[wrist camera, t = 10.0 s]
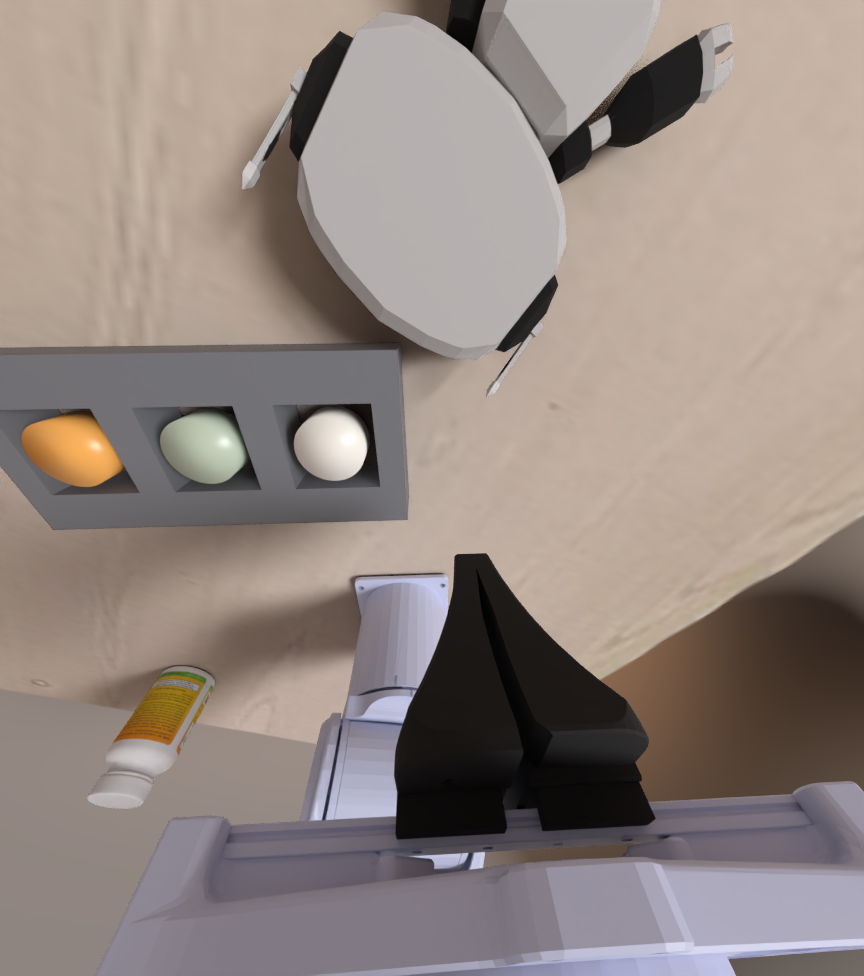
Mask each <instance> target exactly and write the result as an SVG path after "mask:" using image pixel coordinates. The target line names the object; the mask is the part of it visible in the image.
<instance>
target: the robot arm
mask: <svg viewBox="0 0 864 976" xmlns="http://www.w3.org/2000/svg"><path fill="white" fill-rule="evenodd" d="M442 583H443V584H442ZM360 586H362V587H360ZM355 589H356V594H357V599H358V604H359V609H360V614H361V619H362V620H361V625H360V631H359V636H358V642H357V647H356V653H355V658H354V664H353V669H352V675H351V680H350V686H349V691H348V697H347V701H346V705H345V708H344V712H343V716H342V719H341V713H332V714H331V716H330V718H328V719H327V720H326V721H325V722H324V723H323V724H322V725H321V729H320V733H319V737H318V742H317V746H316V750H315V754H314V759H313V763H312V767H311V772H310V776H309V780H308V785H307V789H306V794H305V798H304V802H303V807H302V812H301V816H300V820H299V821H296V822H278V823H260V824H241V825H231V823H230V822H229V820H228V819H226V818H224V817H220V816H196V817H176V818H172V819H171V820H170V821H168V824H167V826H166V828H165V830H164V832H163V834H162V836H161V838H160V840H159V842H158V844H157V846H156V848H155V850H154V853H153V855H152V857H151V859H150V861H149V863H148V865H147V867H146V869H145V871H144V873H143V875H142V877H141V879H140V881H139V883H138V886H137V888H136V890H135V892H134V894H133V896H132V898H131V900H130V902H129V904H128V906H127V908H126V911H125V913H124V915H123V917H122V919H121V921H120V923H119V925H118V927H117V929H116V931H115V933H114V935H113V937H112V939H111V941H110V944H109V946H108V948H107V950H106V952H105V954H104V956H103V958H102V960H101V962H100V964H99V967H98V968H97V971H96V973H95V975H94V976H736V975H735V973H734V971H733V969H732V967H731V965H730V962H729V960H728V959H732V958H746V957H758V956H772V955H785V954H798V953H811V952H825V951H839V950H852V949H864V792H863V791H862V790H861V789H860V787H859V786H858V785H857V784H856V783H854V782H851V781H847V782H827V783H814V784H809V785H805V786H803V787H801V788H799V789H797V790H796V791H794V792H793V794H791V795H774V796H773V795H772V796H754V797H735V798H717V799H700V800H682V801H663V802H648V800H647V798H646V796H645V794H644V792H643V789H642V788H641V785H640V783H639V781H641V780H642V778H641V774H640V772H639V770H638V768H637V766H636V764H635V762H636V761H637V759H638V758H639V757H640V756H641V755H642V754H643V753H644V751H645V750H646V748H647V747H648V744H649V739H648V736H647V734H646V732H645V730H644V728H643V727H642V725H641V723H640V721H639V719H638V718H637V717H636V715H635V713H634V711H633V710H632V708H631V707H630V705H629V704H628V702H627V701H626V700H625V699H624V698H623V697H621V696H620V695H619V694H617V693H616V692H615V691H613V690H612V689H611V688H609V687H608V686H607V685H605V684H604V683H602V682H601V681H600V680H599V679H597V678H596V677H595V676H594V675H593V674H591V673H590V672H589V671H588V670H586V669H585V668H584V667H583V666H582V665H580V664H579V663H578V662H577V661H576V660H575V659H574V658H573V657H572V656H570V655H569V654H568V653H567V652H566V651H565V650H564V649H563V648H562V647H561V646H559V645H558V644H557V643H556V642H555V641H554V640H553V639H552V638H551V637H550V636H549V635H548V634H547V633H546V632H545V631H544V630H543V628H542V627H541V626H540V625H539V624H538V623H537V622H536V621H535V620H534V619H533V618H532V616H531V615H530V614H529V613H528V612H527V610H526V609H525V608H524V607H523V606H522V604H521V603H520V602H519V601H518V599H517V598H516V597H515V595H514V594H513V593H512V591H511V590H510V589H509V587H508V586H507V584H506V583H505V582H504V580H503V579H502V577H501V576H500V574H499V573H498V571H497V570H496V568H495V566H494V565H493V563H492V561H491V560H490V558H489V556H488V555H487V554H486V553H482V554H457V555H456V556H455V559H454V583H453V592H452V597H451V601H450V605H449V609H448V577H447V575H444V574H437V575H407V576H377V577H358V578H356V579H355ZM447 612H448V613H447ZM503 802H504V804H503ZM632 843H641V844H636V845H631V846H628V849H627V852H626V853H625V854H623V855H622V856H621V857H620V858H599V859H598V858H597V859H570V860H552V861H540V862H529V863H519V864H511V865H502V866H493V867H486V868H483V863H484V856H485V852H494V851H511V850H528V849H544V848H545V849H546V848H563V847H580V846H597V845H614V844H632Z"/></svg>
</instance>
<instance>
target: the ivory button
mask: <svg viewBox="0 0 864 976" xmlns="http://www.w3.org/2000/svg"><path fill="white" fill-rule="evenodd" d="M369 444H370V435H369V431H368V428H367V426H366V424H365V423H364V421H363V420H362V419H361V418H360V417H359V416H358V415H357V414H356V413H354V412H353V411H351V410H349V409H347V408H344V407H340V406H327V407H323V408H320V409H319V410H317V411H315V412H314V413H313V414H312V415H311V416H310V417H309V418H308V419H307V420H306V421H305V422H304V423H303V424H302V426H301V427H300V428H299V429H298V431H297V432H296V435H295V438H294V450H295V454H296V456H297V458H298V460H299V462H300V463H301V465H302V466H303V467H304V468H305V469H306V470H307V471H308V472H310V473H311V474H313V475H314V476H317V477H319V478H321V479H325V480H330V481H340V480H345V479H348V478H350V477H352V476H353V475H355V474H356V473H357V472H358V471H359V470H360V468H361V467H362V465H363V462H364V460H365V457H366V454H367V451H368V448H369Z"/></svg>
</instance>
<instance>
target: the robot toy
mask: <svg viewBox="0 0 864 976" xmlns="http://www.w3.org/2000/svg"><path fill="white" fill-rule="evenodd" d="M660 5H661V0H451V6H450V12H449V18H448V24H447V30H446V32H447V34H446V33H445V32H443V31H442V30H441V29H439V28H438V27H437V26H435V25H433V24H431V23H429V22H427V21H425V20H423V19H421V18H419V17H417V16H411V15H404V14H397V13H390V12H381V13H380V14H379V15H377V16H376V17H375V18H373V19H372V20H371V21H369V22H368V23H367V24H365V25H364V26H363V27H361V28H360V29H358V30H357V32H356V34H355V36H354V38H352V37H350V36H348V35H346V34H344V33H342V32H340V31H339V32H338V33H337V34H336V36H335V37H334V38H333V39H332V40H331V41H330V42H329V44H328V45H327V46H326V47H325V48H324V49H323V50H322V51H321V52H320V53H319V54H318V55H317V56H316V57H315V58H314V59H313V60H312V63H311V65H310V67H309V70H308V72H307V73H306V72H305V71H304V70H303V69H302V68H301V67H299V69H298V71H297V72H296V74H295V76H294V77H293V79H292V81H291V83H290V85H291V90H292V93H291V94H290V96H289V98H288V100H287V101H286V103H285V105H284V107H283V108H282V110H281V112H280V113H279V115H278V117H277V119H276V120H275V122H274V124H273V126H272V127H271V129H270V131H269V132H268V134H267V136H266V138H265V139H264V141H263V143H262V145H261V146H260V148H259V150H258V152H257V153H256V155H255V157H254V158H253V160H252V162H251V161H250V160H249V162H248V164H247V166H246V167H245V169H244V171H243V172H242V190H244V189H248V188H252V187H254V185H255V184H256V182H257V180H258V178H259V177H260V173H259V172H260V170H261V169H262V167H263V165H264V164H265V162H266V160H267V158H268V157H269V155H270V153H271V151H272V150H273V148H274V146H275V145H276V143H277V141H278V139H279V138H280V136H281V134H282V133H283V131H284V129H285V127H286V126H287V124H288V122H289V121H290V119H291V117H292V125H291V136H290V149H291V150H292V152H293V153H294V155H295V157H296V158H297V160H298V161H299V166H298V186H297V200H298V202H299V205H300V208H301V210H302V213H303V216H304V218H305V221H306V224H307V226H308V229H309V232H310V234H311V236H312V237H313V239H314V241H315V242H316V244H317V246H318V248H319V249H320V251H321V252H322V254H323V255H324V256H325V258H326V259H327V261H328V262H329V263H330V265H331V266H332V267H333V269H334V270H335V272H336V273H337V274H338V276H339V277H340V278H341V279H342V280H343V282H344V283H345V284H346V285H347V286H348V287H349V288H350V289H351V291H352V292H353V293H354V294H355V295H356V296H357V297H358V298H359V299H360V301H361V302H362V303H363V304H364V305H365V306H366V307H367V308H368V309H369V311H370V312H371V313H372V314H373V315H374V316H375V317H376V318H377V320H379V321H380V322H382V323H384V324H385V325H387V326H389V327H390V328H392V329H393V330H395V331H397V332H398V333H400V334H402V335H403V336H405V337H407V338H408V339H410V340H412V341H413V342H415V343H417V344H418V345H420V346H422V347H424V348H426V349H429V350H431V351H433V352H436V353H438V354H440V355H442V356H446V357H449V358H453V359H471V360H477V359H479V358H480V357H482V356H484V355H486V354H488V353H489V352H491V351H493V350H498V351H502V352H506V351H507V350H509V349H511V348H512V347H514V346H516V345H517V344H519V343H520V342H521V344H520V345H519V347H518V348H517V350H516V351H515V352H514V354H513V355H512V357H511V358H510V360H509V361H508V363H507V364H506V365H505V367H504V368H503V370H502V371H501V373H500V374H499V375H498V377H497V378H496V380H495V381H493V382H492V384H491V385H490V386H489V388H488V389H487V394H486V398H487V397H489V396H490V395H492V394H494V393H495V391H496V390H497V389H498V387H499V386H500V382H501V381H502V379H503V378H504V377H505V375H506V374H507V372H508V371H509V369H510V368H511V367H512V365H513V364H514V362H515V361H516V359H517V358H518V357H519V355H520V354H521V352H522V351H523V349H524V348H525V347H526V345H527V344H528V342H529V341H530V339H531V338H533V337H536V336H537V334H538V333H539V331H540V330H541V328H542V327H543V326H544V325H543V324H542V323H541V322H540V320H541V319H542V318H543V316H544V315H545V314H546V312H547V310H548V308H549V305H550V303H551V300H552V298H553V296H554V294H555V291H556V289H557V287H558V283H557V280H556V277H555V273H556V270H557V267H558V265H559V262H560V259H561V257H562V254H563V252H564V249H565V246H566V244H567V237H566V220H565V208H564V204H563V200H562V196H561V192H560V190H559V187H558V184H560V183H561V182H563V181H565V180H566V179H568V178H570V177H571V176H573V175H574V174H576V173H578V172H579V171H581V170H583V169H584V168H585V166H586V164H587V163H588V161H589V160H590V158H591V154H592V151H593V150H595V149H596V148H598V147H600V146H601V145H608V146H613V147H629V146H632V145H635V144H638V143H640V142H642V141H643V140H645V139H647V138H648V137H650V136H652V135H653V134H655V133H657V132H658V131H660V130H662V129H663V128H665V127H666V126H668V125H670V124H671V123H673V122H675V121H676V120H678V119H680V118H681V117H683V116H684V115H685V113H686V112H687V111H688V110H689V109H690V108H691V106H692V105H693V104H694V103H705V102H706V101H707V100H708V99H709V98H711V97H712V96H713V95H714V94H715V93H716V92H717V91H718V90H719V89H720V88H721V87H722V86H723V85H724V83H725V82H726V80H727V79H728V77H729V76H730V73H731V70H732V67H733V55H732V56H731V57H730V58H729V59H728V60H726V61H725V62H723V63H722V64H721V65H719V66H718V67H716V68H715V55H716V54H719V53H721V52H723V51H724V50H725V49H726V47H727V46H729V45H730V44H732V43H733V30H732V28H731V26H730V23H727V24H722V25H718V26H715V27H712V28H709V29H706V30H702V31H701V33H700V34H699V35H698V36H697V35H695V36H694V37H692V38H690V39H689V40H687V41H685V42H683V43H682V44H680V45H678V46H677V47H675V48H674V49H672V50H670V51H669V52H667V53H666V54H664V55H663V56H661V57H660V58H658V59H656V60H655V61H653V62H652V63H650V64H649V65H647V66H646V67H644V68H642V69H641V70H639V71H638V72H636V73H635V74H633V75H631V77H630V78H629V79H628V81H627V82H626V84H625V85H624V86H623V88H622V89H621V90H620V92H619V93H618V95H617V96H616V97H615V99H614V100H613V102H612V103H611V105H610V106H609V108H608V109H607V111H606V113H605V114H604V116H603V117H602V118H600V119H599V120H597V121H595V122H594V123H592V124H591V125H589V126H588V123H587V121H586V120H587V119H588V118H589V116H590V115H591V114H592V113H593V112H594V111H595V110H596V109H597V107H598V106H599V105H600V104H601V103H602V102H603V101H604V100H605V98H606V97H607V96H608V95H609V94H610V93H611V91H612V90H613V89H614V88H615V87H616V86H617V84H618V83H619V82H620V81H621V80H622V78H623V77H624V76H625V75H626V74H627V72H628V71H629V70H630V69H631V68H632V66H633V65H634V64H635V63H636V62H637V61H638V59H639V58H640V57H641V56H642V54H643V51H644V49H645V47H646V45H647V42H648V40H649V38H650V35H651V33H652V31H653V28H654V26H655V24H656V21H657V19H658V17H659V11H660Z"/></svg>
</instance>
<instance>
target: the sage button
mask: <svg viewBox="0 0 864 976" xmlns="http://www.w3.org/2000/svg"><path fill="white" fill-rule="evenodd" d="M160 445H161V449H162V452H163V454H164V456H165V458H166V459H167V461H168V462H169V463H170V464H171V465H172V466H173V467H174V468H175V469H176V470H177V471H178V472H180V473H181V474H183V475H184V476H186V477H188V478H190V479H192V480H194V481H197V482H201V483H207V484H217V483H222V482H225V481H227V480H228V479H230V478H231V477H232V476H233V475H234V474H235V473H236V472H237V471H238V470H240V469H241V468H242V467H243V466H244V465H245V464H246V463H247V462H248V461H249V460H250V459H251V458H250V456H249V453H248V450H247V447H246V444H245V441H244V438H243V435H242V433H241V430H240V427H239V424H238V421H237V418H236V417H234V416H233V415H231V414H229V413H227V412H225V411H222V410H219V409H214V408H203V409H199V410H196V411H194V412H192V413H190V414H188V415H186V416H184V417H182V418H180V419H178V420H176V421H173V422H171V423H170V424H168V425H167V426H166V427H165V428H164V429H163V431H162V433H161V437H160Z"/></svg>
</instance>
